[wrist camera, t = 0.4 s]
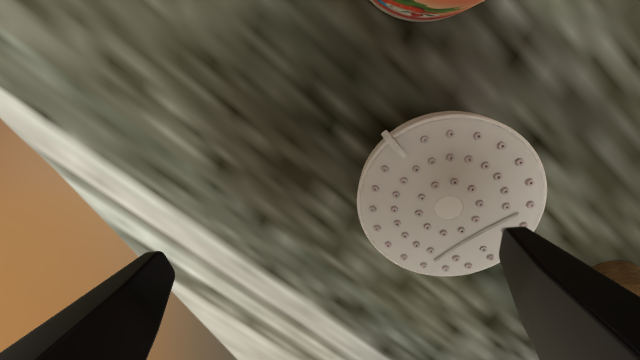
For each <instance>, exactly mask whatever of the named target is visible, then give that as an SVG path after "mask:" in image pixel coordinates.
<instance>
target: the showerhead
mask: <svg viewBox="0 0 640 360" xmlns="http://www.w3.org/2000/svg"><path fill="white" fill-rule="evenodd" d="M381 135H382V136H383V139H382V140H381V141H380V142H379V143H378V145H377V146H376V147H375V148H374V149H373V151H372V152H371V154H370V155H369V157H368V159H367V161H366V163H365V165H364V168H363V170H362V173H361V177H360V181H359V186H358V192H357V210H358V215H359V219H360V223H361V225H362V228H363V230H364V232H365V234H366V236H367V237H368V239H369V240H370V242H371V243H372V244H373V246H374V247H375V248H376V249H377V250H378V251H379V252H380V253H381V254H382V255H384V256H385V257H386V258H387V259H389V260H390V261H392V262H393V263H395V264H397V265H399V266H401V267H403V268H405V269H408V270H411V271H414V272H417V273H420V274H426V275H432V276H458V275H466V274H471V273H474V272H478V271H481V270H484V269H486V268H489V267H492V266H494V265H495V264H497V263H499V262H500V259H499V249H500V244H501V238H502V233H503V230H504V229H505V228H507V227H518V226H523V227H526V228H528V229H530V230H531V231H533V232H534V230H535V229H536V227H537V225H538V223H539V221H540V219H541V217H542V214H543V211H544V208H545V203H546V198H547V181H546V176H545V171H544V168H543V165H542V163H541V161H540V158H539V156H538V155H537V153H536V152H535V150H534V149H533V147H532V146H531V145H530V144H529V143H528V141H527V140H525V139H524V138H523V137H522V136H521V135H520V134H519V133H517V132H516V131H515V130H513V129H511V128H510V127H508V126H506V125H504V124H502V123H500V122H498V121H495V120H493V119H491V118H488V117H486V116H482V115H479V114H475V113H471V112H463V111H444V112H436V113H430V114H426V115H422V116H420V117H417V118H414V119H412V120H410V121H408V122H405V123H404V124H402V125H400V126H398V127H397V128H395V129H394V130H393V131H391V132H390V133H389V132H388V131H387V130H385V131H384V132H383V133H381Z"/></svg>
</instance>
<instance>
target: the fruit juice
mask: <svg viewBox="0 0 640 360" xmlns="http://www.w3.org/2000/svg"><path fill="white" fill-rule="evenodd" d="M370 1H371V2H372V3H373V4H374V5H375V6H376V7H378V8H379V9H380V10H382V11H383V12H385V13H387V14H389V15H391V16H393V17H396V18H398V19H402V20H406V21H412V22H431V21H438V20H442V19H446V18H449V17H452V16H454V15H457V14H459V13H461V12H463V11H465V10H467V9H469V8H471V7H473V6H475V5H477V4H479V3H481V2H483V1H485V0H370Z"/></svg>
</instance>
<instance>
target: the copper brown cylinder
mask: <svg viewBox="0 0 640 360" xmlns="http://www.w3.org/2000/svg"><path fill="white" fill-rule="evenodd" d="M592 268H594V269H595V270H597V271H599V272H600V273H602V274H604V275H605V276H607V277H609V278H610V279H612V280H613V281H615V282H617V283H618V284H620V285H622V286H623V287H625V288H627V289H628V290H630V291H632V292H633V293H635V294H636V295H638V296H640V267H639V266H637V265H635V264H633V263H630V262H625V261H609V262H604V263H601V264H598V265H596V266H594V267H592Z"/></svg>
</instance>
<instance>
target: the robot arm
mask: <svg viewBox="0 0 640 360" xmlns="http://www.w3.org/2000/svg"><path fill="white" fill-rule="evenodd" d="M499 259H500V263H501V266H502V268H503V271H504V274H505V277H506V280H507V282H508V285H509V288H510V291H511V294H512V297H513V299H514V302H515V305H516V308H517V311H518V313H519V316H520V319H521V321H522V324H523V326H524V328H525V330H526V333H527V335H528V337H529V339H530V341H531V343H532V345H533V347H534V349H535V351H536V353H537V355H538V357H539V360H640V296H638V295H636V294H635V293H633V292H632V291H630V290H628V289H627V288H625V287H623V286H622V285H620V284H618V283H617V282H615V281H613V280H612V279H610V278H609V277H607V276H605V275H604V274H602V273H600V272H599V271H597V270H595V269H594V268H592V267H591V266H589V265H587V264H586V263H584V262H582V261H581V260H579V259H577V258H576V257H574V256H572V255H571V254H569V253H568V252H566V251H564V250H563V249H561V248H559V247H558V246H556V245H554V244H553V243H551V242H549V241H548V240H546V239H545V238H543V237H541V236H540V235H538V234H536V233H535V232H533V231H531V230H530V229H528V228H526V227H523V226H518V227H507V228H505V229H504V230H503V233H502V238H501V244H500V249H499ZM174 279H175V272H174V269H173V267H172V266H171V264H170V263H169V261H168V259H167V258H166V256H165V255H164V253H162V252H160V251H154V252H147V253H144V254H143V255H141V256H140V257H139V258H137V259H136V260H134V261H133V262H131V263H130V264H128V265H127V266H126V267H124V268H123V269H121V270H120V271H118V272H117V273H115V274H114V275H112V276H111V277H109V278H108V279H107V280H105V281H104V282H102V283H101V284H99V285H98V286H97V287H95V288H94V289H92V290H91V291H89V292H88V293H86V294H85V295H84V296H82V297H80V298H79V299H78V300H76V301H75V302H73V303H72V304H70V305H69V306H67V307H66V308H64V309H63V310H62V311H60V312H59V313H57V314H56V315H55V316H53V317H51V318H50V319H48V320H47V321H46V322H44V323H43V324H41V325H40V326H38V327H37V328H35V329H34V330H33V331H31V332H30V333H28V334H27V335H25V336H24V337H22V338H21V339H19V340H18V341H17V342H15V343H14V344H12V345H11V346H9V347H8V348H6V349H5V350H4V351H2V352H1V353H0V360H146V359H147V357H148V354H149V352H150V350H151V347H152V345H153V342H154V340H155V338H156V335H157V332H158V330H159V327H160V324H161V320H162V318H163V314H164V311H165V308H166V305H167V302H168V298H169V295H170V292H171V289H172V286H173V282H174Z"/></svg>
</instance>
